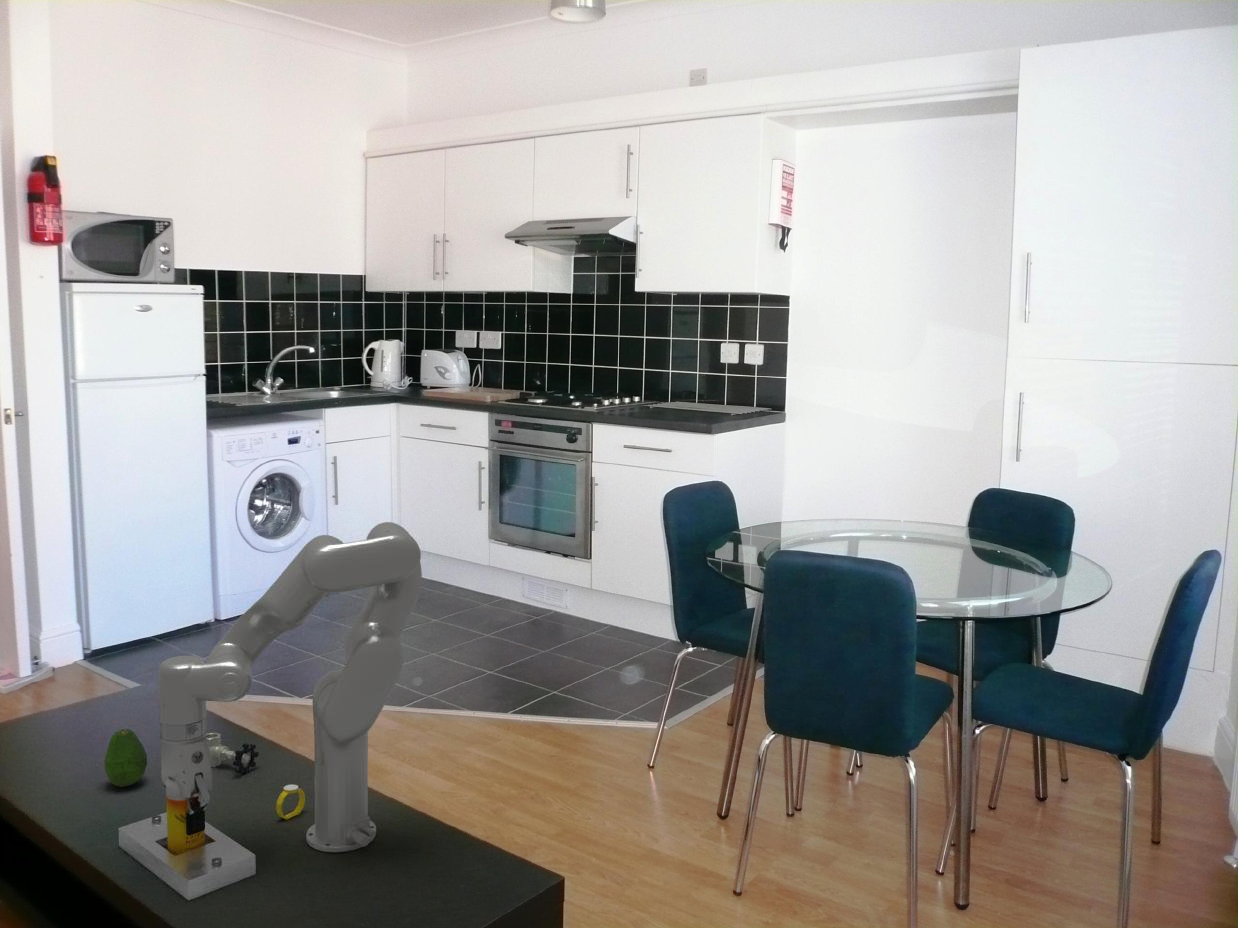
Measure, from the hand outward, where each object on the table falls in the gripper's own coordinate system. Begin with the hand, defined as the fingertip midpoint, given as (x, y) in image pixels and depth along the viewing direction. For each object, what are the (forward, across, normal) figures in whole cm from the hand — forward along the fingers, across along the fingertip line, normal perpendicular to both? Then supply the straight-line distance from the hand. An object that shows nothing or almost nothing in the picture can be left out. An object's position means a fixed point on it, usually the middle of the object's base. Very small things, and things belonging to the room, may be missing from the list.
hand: (186, 824), depth 187 cm
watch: (+7, +2, -22) cm, 23 cm away
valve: (+7, +31, -24) cm, 40 cm away
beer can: (+6, 0, 0) cm, 6 cm away
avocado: (+7, +37, -6) cm, 38 cm away
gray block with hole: (+6, 0, 0) cm, 6 cm away
